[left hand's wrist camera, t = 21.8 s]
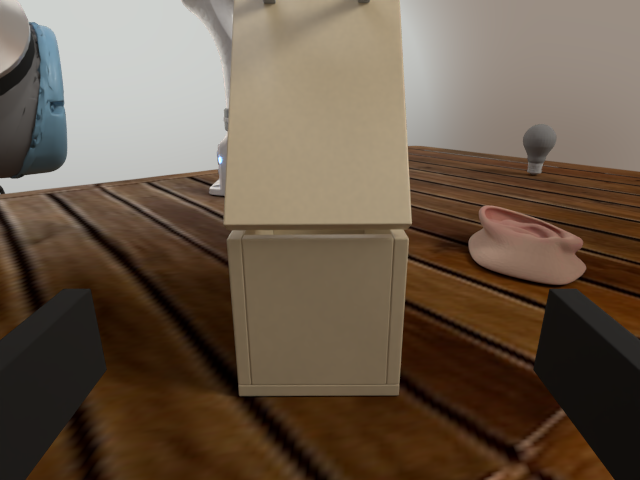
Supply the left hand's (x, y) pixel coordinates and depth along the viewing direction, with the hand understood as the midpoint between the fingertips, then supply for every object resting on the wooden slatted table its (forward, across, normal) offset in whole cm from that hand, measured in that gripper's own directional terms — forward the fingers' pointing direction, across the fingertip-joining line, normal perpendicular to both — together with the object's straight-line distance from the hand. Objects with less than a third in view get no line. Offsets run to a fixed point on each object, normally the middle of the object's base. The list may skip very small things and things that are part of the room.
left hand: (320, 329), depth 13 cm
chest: (+18, 0, -11) cm, 21 cm away
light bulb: (+78, +44, -11) cm, 91 cm away
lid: (+15, 0, +6) cm, 16 cm away
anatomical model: (+32, +22, -11) cm, 40 cm away
